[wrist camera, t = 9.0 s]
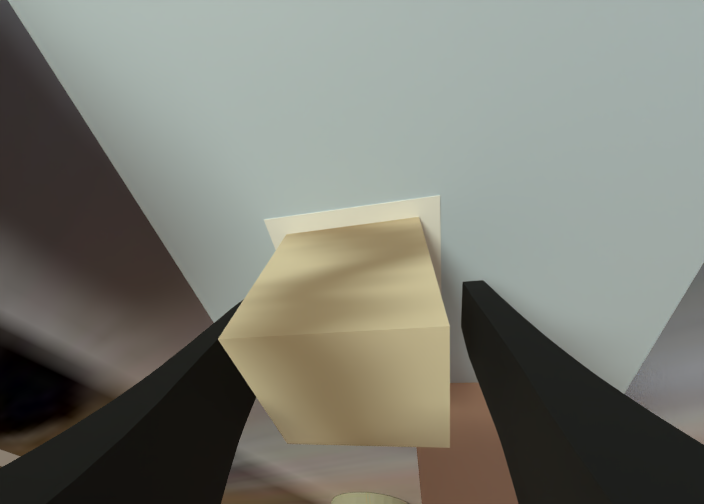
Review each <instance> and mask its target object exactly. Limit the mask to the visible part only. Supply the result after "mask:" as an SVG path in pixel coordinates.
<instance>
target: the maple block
mask: <svg viewBox="0 0 704 504" xmlns="http://www.w3.org/2000/svg"><path fill="white" fill-rule="evenodd" d="M218 340H219V342H220V343H221V345H222V346H223V348H224V349H225V351H226V352H227V354H228V355H229V357H230V358H231V360H232V361H233V363H234V364H235V366H236V367H237V369H238V370H239V372H240V373H241V375H242V376H243V378H244V379H245V381H246V382H247V384H248V385H249V387H250V388H251V390H252V391H253V393H254V394H255V396H256V397H257V399H258V400H259V402H260V403H261V405H262V406H263V408H264V409H265V411H266V412H267V414H268V415H269V417H270V418H271V420H272V421H273V423H274V424H275V426H276V427H277V429H278V430H279V432H280V433H281V435H282V436H283V438H284V439H285V441H286V442H287V444H316V445H356V446H397V447H438V448H450V325H449V321H448V318H447V314H446V311H445V307H444V304H443V300H442V297H441V293H440V290H439V286H438V282H437V279H436V275H435V272H434V268H433V265H432V261H431V258H430V254H429V251H428V247H427V244H426V240H425V236H424V233H423V229H422V226H421V222H420V219H419V217H414V218H406V219H399V220H391V221H384V222H376V223H369V224H361V225H353V226H346V227H338V228H331V229H323V230H316V231H308V232H300V233H293V234H286V236H285V237H284V239H283V240H282V242H281V243H280V245H279V246H278V248H277V249H276V251H275V253H274V254H273V256H272V257H271V259H270V260H269V262H268V263H267V265H266V266H265V268H264V269H263V271H262V272H261V274H260V275H259V277H258V279H257V280H256V282H255V283H254V285H253V286H252V288H251V289H250V291H249V292H248V294H247V295H246V297H245V298H244V300H243V301H242V303H241V305H240V306H239V308H238V309H237V311H236V312H235V314H234V315H233V317H232V318H231V320H230V321H229V323H228V324H227V326H226V327H225V329H224V331H223V332H222V334H221V335H220V337H219V338H218Z"/></svg>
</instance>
